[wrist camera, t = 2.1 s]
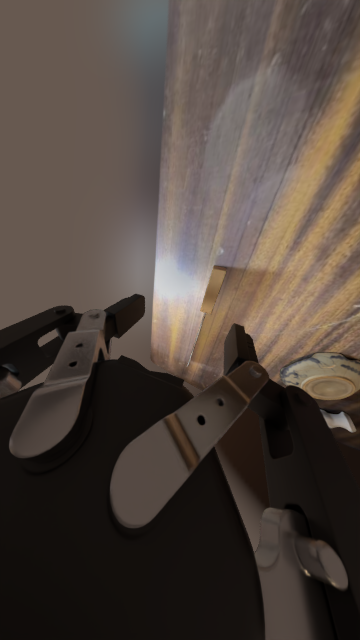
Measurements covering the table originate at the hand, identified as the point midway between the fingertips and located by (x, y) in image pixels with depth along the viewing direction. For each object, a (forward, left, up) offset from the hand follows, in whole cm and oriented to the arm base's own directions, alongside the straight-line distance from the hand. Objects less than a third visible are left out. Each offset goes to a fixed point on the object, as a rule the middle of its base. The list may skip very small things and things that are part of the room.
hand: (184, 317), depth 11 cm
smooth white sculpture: (+52, +7, -18) cm, 56 cm away
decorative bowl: (+35, +9, -18) cm, 40 cm away
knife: (+10, -8, -17) cm, 22 cm away
